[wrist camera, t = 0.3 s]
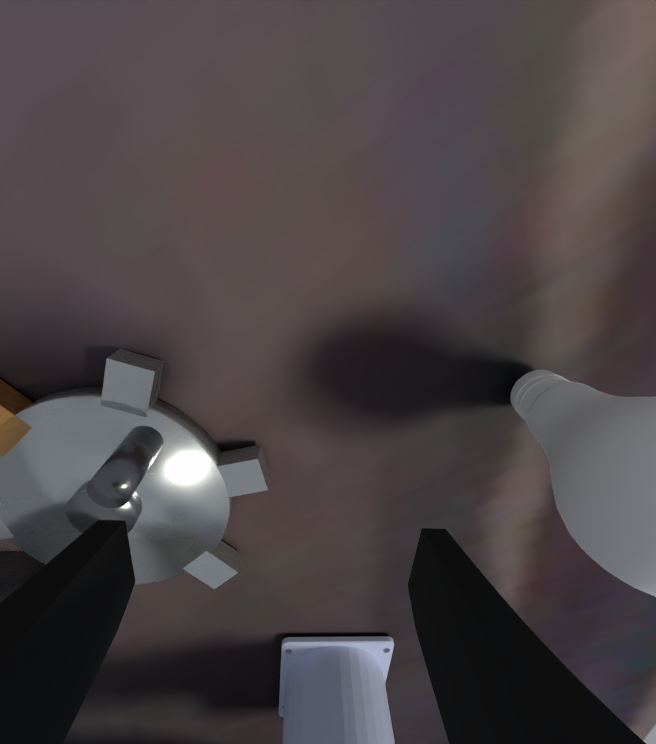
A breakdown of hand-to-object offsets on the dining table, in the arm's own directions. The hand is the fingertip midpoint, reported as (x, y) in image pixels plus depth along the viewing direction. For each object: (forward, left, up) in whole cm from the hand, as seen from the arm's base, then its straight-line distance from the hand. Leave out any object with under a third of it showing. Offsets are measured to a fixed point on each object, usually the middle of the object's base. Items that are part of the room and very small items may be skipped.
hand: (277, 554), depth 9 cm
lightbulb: (+1, -12, -10) cm, 16 cm away
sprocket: (-6, +9, -10) cm, 15 cm away
